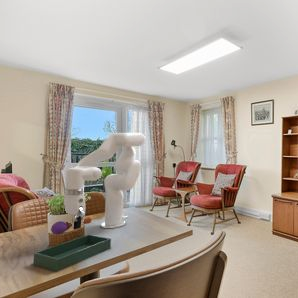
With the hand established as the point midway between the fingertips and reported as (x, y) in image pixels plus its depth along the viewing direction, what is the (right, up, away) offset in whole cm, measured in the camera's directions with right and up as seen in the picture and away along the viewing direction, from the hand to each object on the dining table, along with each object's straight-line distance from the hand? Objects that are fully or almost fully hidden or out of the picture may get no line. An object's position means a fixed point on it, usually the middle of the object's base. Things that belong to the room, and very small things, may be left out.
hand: (72, 227), depth 115 cm
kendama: (0, -1, 0) cm, 1 cm away
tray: (+13, -7, -15) cm, 21 cm away
